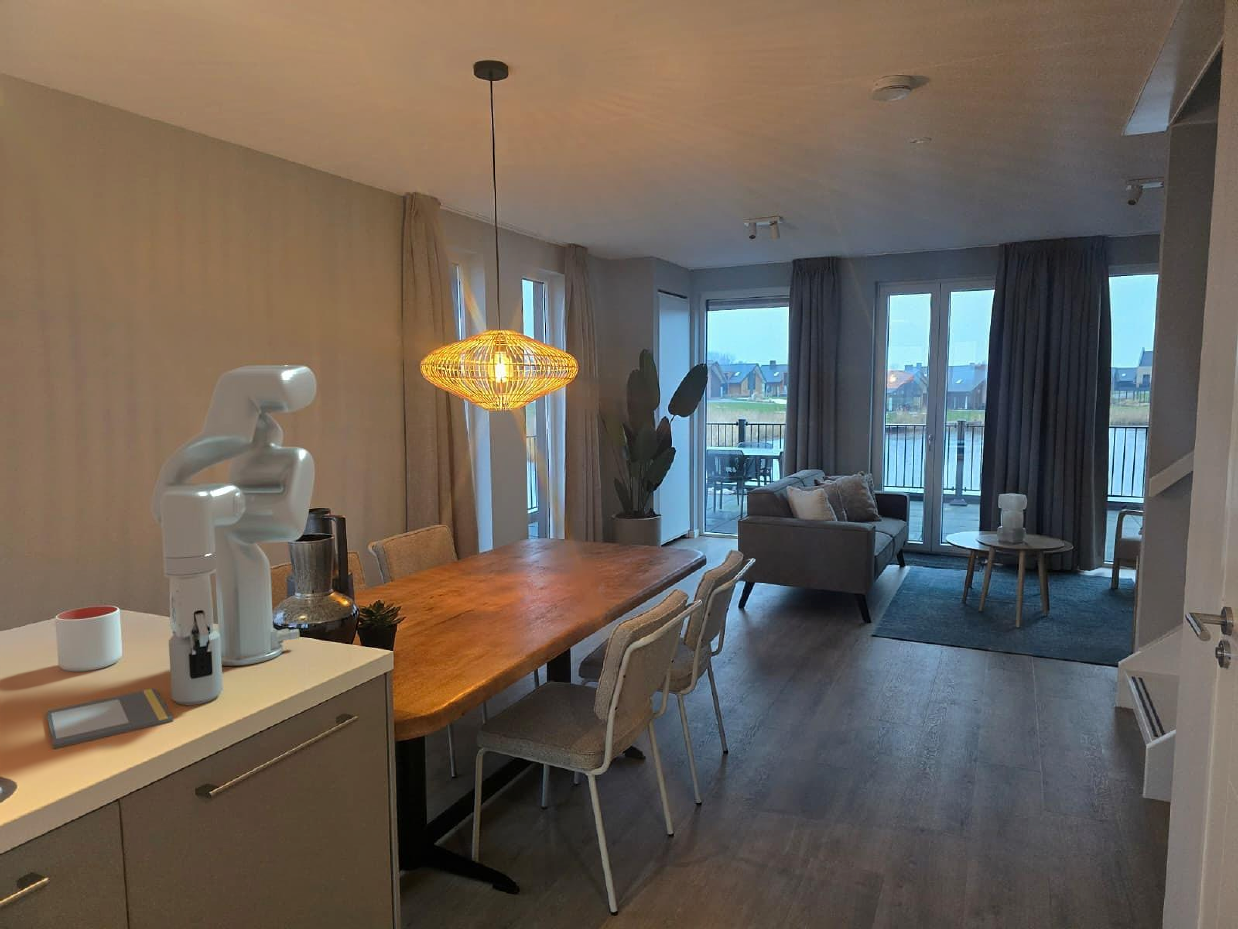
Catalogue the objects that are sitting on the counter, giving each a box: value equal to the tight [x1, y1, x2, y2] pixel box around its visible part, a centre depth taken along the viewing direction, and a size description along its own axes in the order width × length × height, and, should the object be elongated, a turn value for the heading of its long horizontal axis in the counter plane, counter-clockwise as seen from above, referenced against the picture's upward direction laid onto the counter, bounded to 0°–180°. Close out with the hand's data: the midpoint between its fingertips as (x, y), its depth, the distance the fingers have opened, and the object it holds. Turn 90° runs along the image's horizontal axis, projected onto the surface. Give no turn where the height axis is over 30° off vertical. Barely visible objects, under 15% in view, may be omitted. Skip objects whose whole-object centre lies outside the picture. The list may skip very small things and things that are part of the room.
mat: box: [45, 688, 174, 749], centre depth 123 cm, size 15×16×1 cm
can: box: [168, 624, 224, 706], centre depth 130 cm, size 8×8×12 cm
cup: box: [54, 605, 123, 673], centre depth 148 cm, size 10×10×10 cm
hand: (196, 669), depth 130 cm, fingers closed on can, 7 cm apart
